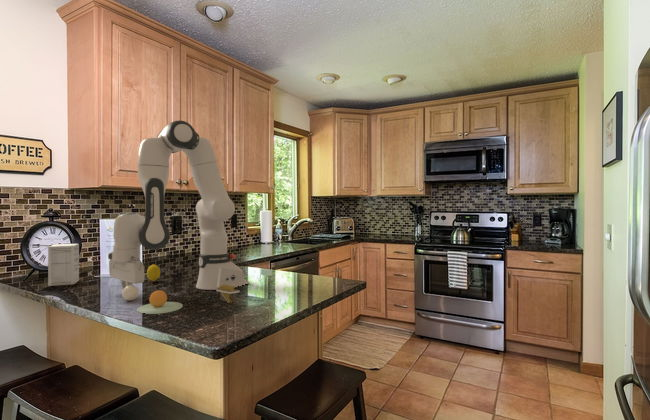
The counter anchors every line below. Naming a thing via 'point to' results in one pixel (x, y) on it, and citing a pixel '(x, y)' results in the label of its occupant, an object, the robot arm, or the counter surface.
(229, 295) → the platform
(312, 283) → the counter surface
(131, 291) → the cue ball
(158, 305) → the object ball
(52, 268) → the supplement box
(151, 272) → the lemon
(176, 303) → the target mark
